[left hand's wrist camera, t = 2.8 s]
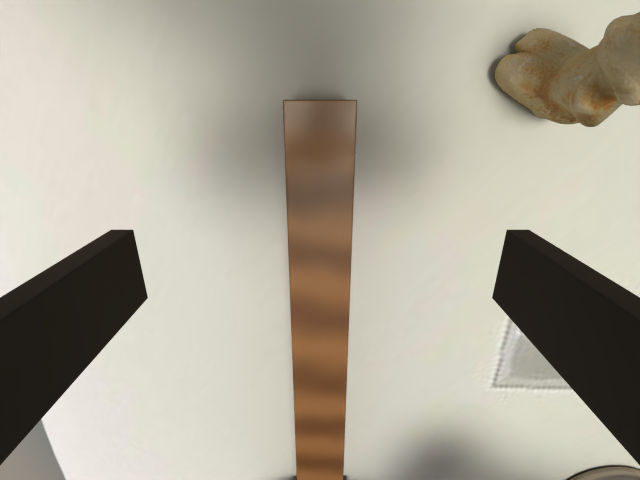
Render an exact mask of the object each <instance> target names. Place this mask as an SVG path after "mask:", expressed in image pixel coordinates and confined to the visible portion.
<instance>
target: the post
mask: <svg viewBox="0 0 640 480" xmlns="http://www.w3.org/2000/svg"><path fill="white" fill-rule="evenodd" d="M356 115H357V100H283V116H284V143H285V170H286V197H287V224H288V250H289V277H290V304H291V331H292V358H293V385H294V412H295V439H296V466H297V480H343V466H344V439H345V412H346V385H347V358H348V331H349V304H350V277H351V250H352V223H353V196H354V169H355V142H356Z"/></svg>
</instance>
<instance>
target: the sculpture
mask: <svg viewBox="0 0 640 480" xmlns="http://www.w3.org/2000/svg"><path fill="white" fill-rule="evenodd" d="M515 51H516V54H508V55H507V56H505V57H504V58H503V59H502V60H501V61H500V62H499V64H498V66H497V68H496V70H495V79H496V82H497V84H498V85H499V87H500V88H501V89H502V90H503V91H504V92H506V93H507V94H508V95H509V96H511V97H512V98H513V99H515V100H516V101H518V102H519V103H521V104H522V105H524V106H525V107H527V108H528V109H530V110H531V111H532V113H533V114H534V115H536V116H538V117H540V118H545V119H548V120H551V121H553V122H556V123H560V124H575V123H581V124H582V125H584V126H587V127H594V126H597V125H599V124H600V123H601V122H603V121H604V120H605V119H606V118H608V117H609V116H610V115H611V114H612V113H613V112H614V111H615V110H616V109H617V108H618V107H619V106H621V105H622V104H624V105H630V106H634V105H640V12H639V13H637V14H634V15H628V16H621V17H619V18H617V19H614V20H613V21H612V22H611V23H610V24H609V25H608V26H607V28H606V31H605V34H604V38H603V39H602V40H601V42H600V43H599V45H598V46H596V47H593V48H591V49H588V48H587V47H585V46H583V45H581V44H580V43H578V42H576V41H574V40H573V39H570V38H568V37H566V36H564V35H562V34H560V33H557V32H554V31H551V30H549V29H543V28H537V29H534V30H532V31H530V32H529V33H528V34H526V35H525V36H524V37H523V38H522V39H521V40H519V41H518V42H517V43H516V44H515Z"/></svg>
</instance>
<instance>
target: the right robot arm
mask: <svg viewBox="0 0 640 480" xmlns="http://www.w3.org/2000/svg"><path fill="white" fill-rule="evenodd" d="M570 480H640V470H637V469H634V468H628V467H605V468H599V469H595V470H591V471H588V472H585V473H582V474H580V475H577V476H575V477H573V478H571V479H570Z"/></svg>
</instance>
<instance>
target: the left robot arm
mask: <svg viewBox="0 0 640 480" xmlns="http://www.w3.org/2000/svg"><path fill="white" fill-rule="evenodd" d="M147 298H148V297H147V292H146V288H145V283H144V278H143V274H142V269H141V264H140V260H139V255H138V250H137V246H136V241H135V236H134V232H133V230H110V231H109V232H107V233H105V234H104V235H102V236H100V237H99V238H97V239H95V240H94V241H92V242H91V243H89V244H87V245H86V246H84V247H82V248H81V249H79V250H77V251H76V252H74V253H73V254H71V255H69V256H68V257H66V258H64V259H63V260H61V261H59V262H58V263H56V264H55V265H53V266H51V267H50V268H48V269H46V270H45V271H43V272H41V273H40V274H38V275H37V276H35V277H33V278H32V279H30V280H28V281H27V282H25V283H23V284H22V285H20V286H19V287H17V288H15V289H14V290H12V291H10V292H9V293H7V294H5V295H4V296H2V297H1V298H0V465H1V464H2V463H3V461H4V460H5V459H6V458H7V457H8V456H9V455H10V454H11V452H12V451H13V450H14V449H15V448H16V447H17V446H18V444H19V443H20V442H21V441H22V440H23V439H24V438H25V436H26V435H27V434H28V433H29V432H30V431H31V430H32V429H33V427H34V426H35V425H36V424H37V423H38V422H39V421H40V419H41V418H42V417H43V416H44V415H45V414H46V413H47V412H48V410H49V409H50V408H51V407H52V406H53V405H54V404H55V402H56V401H57V400H58V399H59V398H60V397H61V396H62V395H63V393H64V392H65V391H66V390H67V389H68V388H69V387H70V385H71V384H72V383H73V382H74V381H75V380H76V379H77V378H78V376H79V375H80V374H81V373H82V372H83V371H84V370H85V368H86V367H87V366H88V365H89V364H90V363H91V362H92V360H93V359H94V358H95V357H96V356H97V355H98V354H99V353H100V351H101V350H102V349H103V348H104V347H105V346H106V345H107V343H108V342H109V341H110V340H111V339H112V338H113V337H114V336H115V334H116V333H117V332H118V331H119V330H120V329H121V328H122V326H123V325H124V324H125V323H126V322H127V321H128V320H129V319H130V317H131V316H132V315H133V314H134V313H135V312H136V311H137V309H138V308H139V307H140V306H141V305H142V304H143V303H144V301H145V300H146V299H147ZM492 298H493V299H494V300H495V301H496V303H497V304H498V305H499V306H500V307H501V308H502V309H503V311H504V312H505V313H506V314H507V315H508V316H509V317H510V319H511V320H512V321H513V322H514V323H515V324H516V325H517V326H518V328H519V329H520V330H521V331H522V332H523V333H524V334H525V336H526V337H527V338H528V339H529V340H530V341H531V342H532V343H533V345H534V346H535V347H536V348H537V349H538V350H539V351H540V353H541V354H542V355H543V356H544V357H545V358H546V359H547V360H548V362H549V363H550V364H551V365H552V366H553V367H554V368H555V370H556V371H557V372H558V373H559V374H560V375H561V376H562V378H563V379H564V380H565V381H566V382H567V383H568V384H569V385H570V387H571V388H572V389H573V390H574V391H575V392H576V393H577V395H578V396H579V397H580V398H581V399H582V400H583V401H584V402H585V404H586V405H587V406H588V407H589V408H590V409H591V410H592V412H593V413H594V414H595V415H596V416H597V417H598V418H599V419H600V421H601V422H602V423H603V424H604V425H605V426H606V427H607V429H608V430H609V431H610V432H611V433H612V434H613V435H614V437H615V438H616V439H617V440H618V441H619V442H620V443H621V444H622V446H623V447H624V448H625V449H626V450H627V451H628V452H629V454H630V455H631V456H632V457H633V458H634V459H635V460H636V461H637V463H638V464H639V465H640V298H639V297H638V296H636V295H635V294H633V293H631V292H630V291H628V290H626V289H625V288H623V287H621V286H620V285H618V284H617V283H615V282H613V281H612V280H610V279H608V278H607V277H605V276H603V275H602V274H600V273H599V272H597V271H595V270H594V269H592V268H590V267H589V266H587V265H585V264H584V263H582V262H581V261H579V260H577V259H576V258H574V257H572V256H571V255H569V254H567V253H566V252H564V251H563V250H561V249H559V248H558V247H556V246H554V245H553V244H551V243H549V242H548V241H546V240H545V239H543V238H541V237H540V236H538V235H536V234H535V233H533V232H531V231H530V230H507V232H506V236H505V241H504V246H503V250H502V255H501V260H500V264H499V269H498V274H497V278H496V283H495V288H494V292H493V297H492Z"/></svg>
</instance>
